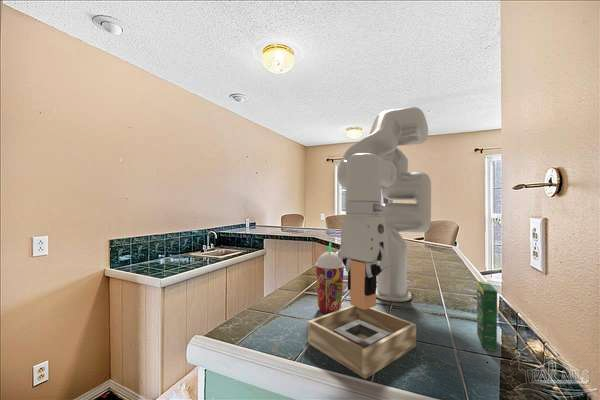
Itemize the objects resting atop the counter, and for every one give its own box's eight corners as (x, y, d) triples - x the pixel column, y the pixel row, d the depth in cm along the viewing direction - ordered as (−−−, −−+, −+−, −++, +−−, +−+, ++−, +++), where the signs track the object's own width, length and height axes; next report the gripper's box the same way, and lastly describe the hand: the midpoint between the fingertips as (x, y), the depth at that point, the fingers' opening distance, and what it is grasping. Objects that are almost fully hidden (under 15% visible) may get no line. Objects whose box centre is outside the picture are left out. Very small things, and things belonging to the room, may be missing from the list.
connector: (361, 300, 65) (361, 252, 65) (375, 305, 62) (376, 255, 62) (350, 304, 62) (350, 254, 62) (364, 309, 59) (365, 257, 59)
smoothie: (343, 317, 76) (343, 245, 76) (313, 315, 78) (313, 244, 78) (344, 306, 84) (345, 241, 84) (317, 304, 86) (317, 240, 86)
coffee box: (475, 332, 68) (476, 279, 68) (489, 335, 67) (490, 281, 67) (481, 348, 61) (482, 289, 61) (497, 351, 60) (498, 291, 60)
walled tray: (358, 321, 74) (358, 302, 74) (415, 346, 61) (416, 324, 61) (307, 343, 62) (308, 321, 62) (365, 379, 50) (365, 351, 50)
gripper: (406, 210, 58) (405, 298, 57) (345, 208, 71) (344, 280, 70) (385, 210, 53) (384, 306, 53) (324, 208, 66) (323, 285, 66)
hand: (361, 290), depth 62 cm, fingers closed on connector, 4 cm apart
